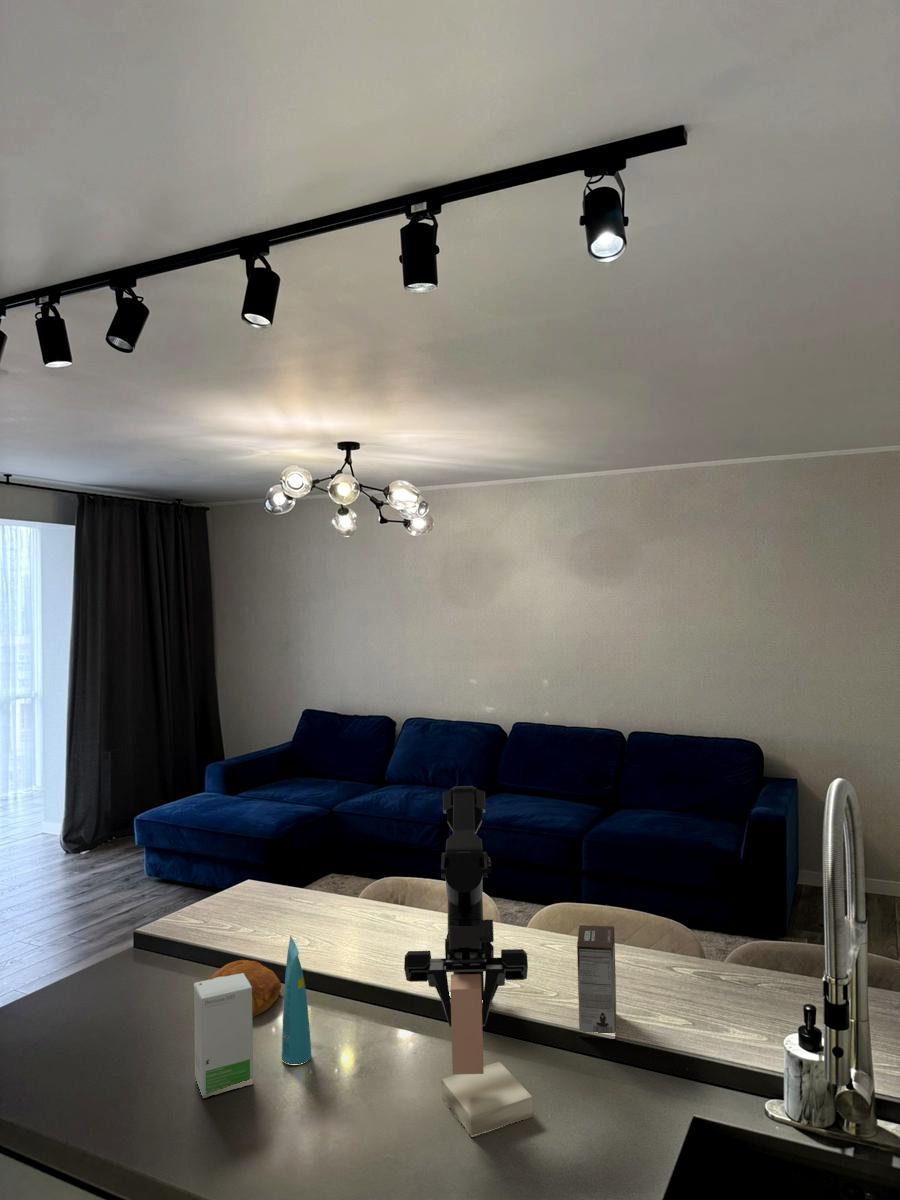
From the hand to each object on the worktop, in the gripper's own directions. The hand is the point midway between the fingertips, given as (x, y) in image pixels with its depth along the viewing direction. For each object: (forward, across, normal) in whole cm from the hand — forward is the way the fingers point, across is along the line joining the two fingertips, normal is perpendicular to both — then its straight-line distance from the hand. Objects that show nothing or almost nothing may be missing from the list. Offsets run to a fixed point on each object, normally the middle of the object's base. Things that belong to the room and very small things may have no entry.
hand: (467, 1025), depth 118 cm
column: (+4, 0, +6) cm, 7 cm away
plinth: (+8, +2, +11) cm, 14 cm away
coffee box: (-7, +23, +27) cm, 36 cm away
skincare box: (+3, -39, +16) cm, 42 cm away
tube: (-1, -29, +20) cm, 35 cm away
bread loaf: (-14, -43, +34) cm, 57 cm away
